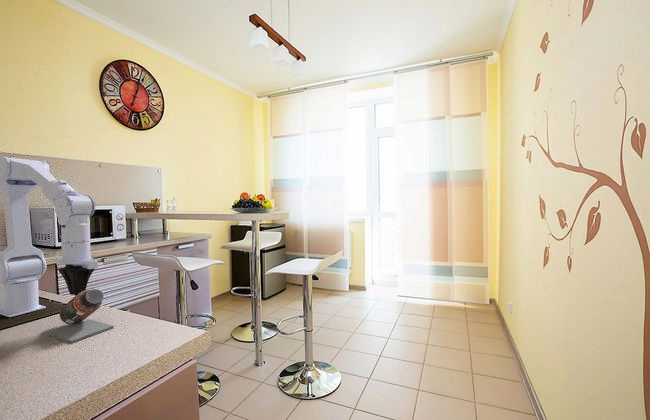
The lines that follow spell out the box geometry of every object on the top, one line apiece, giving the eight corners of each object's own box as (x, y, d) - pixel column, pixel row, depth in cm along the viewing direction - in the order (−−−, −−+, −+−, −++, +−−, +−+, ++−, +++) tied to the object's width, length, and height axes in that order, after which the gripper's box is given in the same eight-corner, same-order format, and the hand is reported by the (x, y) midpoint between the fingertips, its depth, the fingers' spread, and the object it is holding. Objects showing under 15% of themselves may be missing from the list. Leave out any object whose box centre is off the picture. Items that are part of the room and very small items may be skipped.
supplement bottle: (69, 330, 76) (92, 312, 72) (52, 313, 75) (74, 294, 71) (91, 314, 81) (113, 297, 77) (75, 298, 80) (96, 280, 76)
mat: (47, 335, 71) (47, 332, 71) (89, 321, 79) (89, 319, 79) (72, 343, 67) (72, 340, 67) (113, 327, 76) (113, 325, 76)
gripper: (41, 242, 76) (42, 295, 76) (74, 245, 70) (76, 302, 71) (73, 239, 82) (74, 288, 83) (106, 241, 77) (107, 294, 77)
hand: (77, 294), depth 77 cm, fingers closed
